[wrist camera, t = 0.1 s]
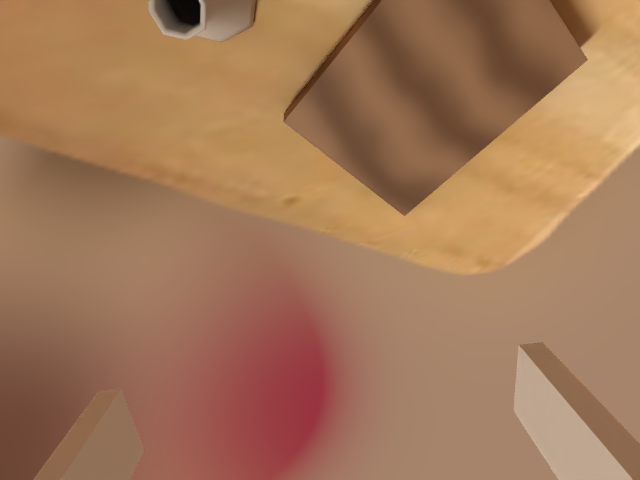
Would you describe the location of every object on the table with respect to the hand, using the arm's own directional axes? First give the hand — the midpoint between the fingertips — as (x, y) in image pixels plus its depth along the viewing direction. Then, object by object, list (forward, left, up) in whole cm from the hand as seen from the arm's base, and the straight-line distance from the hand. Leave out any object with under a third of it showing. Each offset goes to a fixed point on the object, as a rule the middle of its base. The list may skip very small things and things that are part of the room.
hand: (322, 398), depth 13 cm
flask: (-2, -11, -28) cm, 30 cm away
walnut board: (-8, +7, -28) cm, 30 cm away
